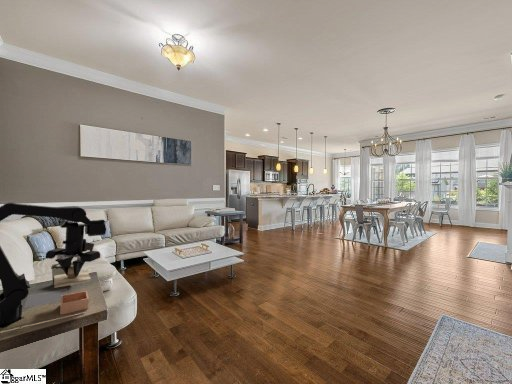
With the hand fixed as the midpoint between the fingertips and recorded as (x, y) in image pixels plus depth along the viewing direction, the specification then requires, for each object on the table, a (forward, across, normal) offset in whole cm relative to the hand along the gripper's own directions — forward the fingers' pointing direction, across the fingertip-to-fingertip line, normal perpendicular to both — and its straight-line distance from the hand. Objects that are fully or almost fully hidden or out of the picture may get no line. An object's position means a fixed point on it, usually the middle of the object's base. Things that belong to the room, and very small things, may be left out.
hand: (72, 275), depth 92 cm
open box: (+13, -2, +1) cm, 13 cm away
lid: (+2, 0, 0) cm, 2 cm away
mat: (+13, +14, -4) cm, 19 cm away
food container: (+13, +18, -18) cm, 29 cm away
